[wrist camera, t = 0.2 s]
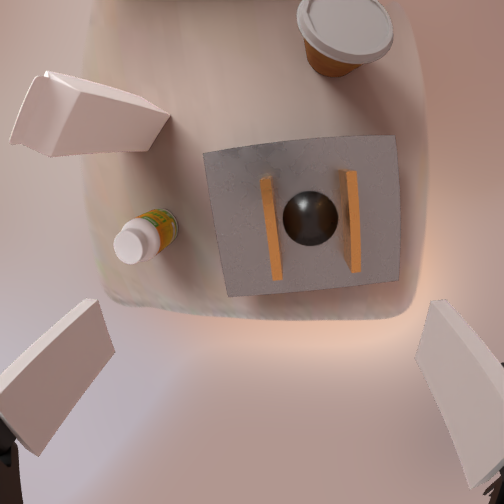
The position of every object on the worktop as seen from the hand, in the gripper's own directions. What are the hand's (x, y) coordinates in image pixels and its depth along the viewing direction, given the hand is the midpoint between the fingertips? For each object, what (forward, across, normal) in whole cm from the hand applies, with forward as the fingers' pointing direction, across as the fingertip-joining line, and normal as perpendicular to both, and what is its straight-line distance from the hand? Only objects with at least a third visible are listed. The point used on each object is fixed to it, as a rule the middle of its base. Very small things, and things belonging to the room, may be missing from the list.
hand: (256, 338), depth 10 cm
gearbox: (+28, +4, 0) cm, 28 cm away
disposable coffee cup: (+28, +8, +20) cm, 35 cm away
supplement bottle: (+28, -16, -2) cm, 32 cm away
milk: (+28, -18, +13) cm, 35 cm away
